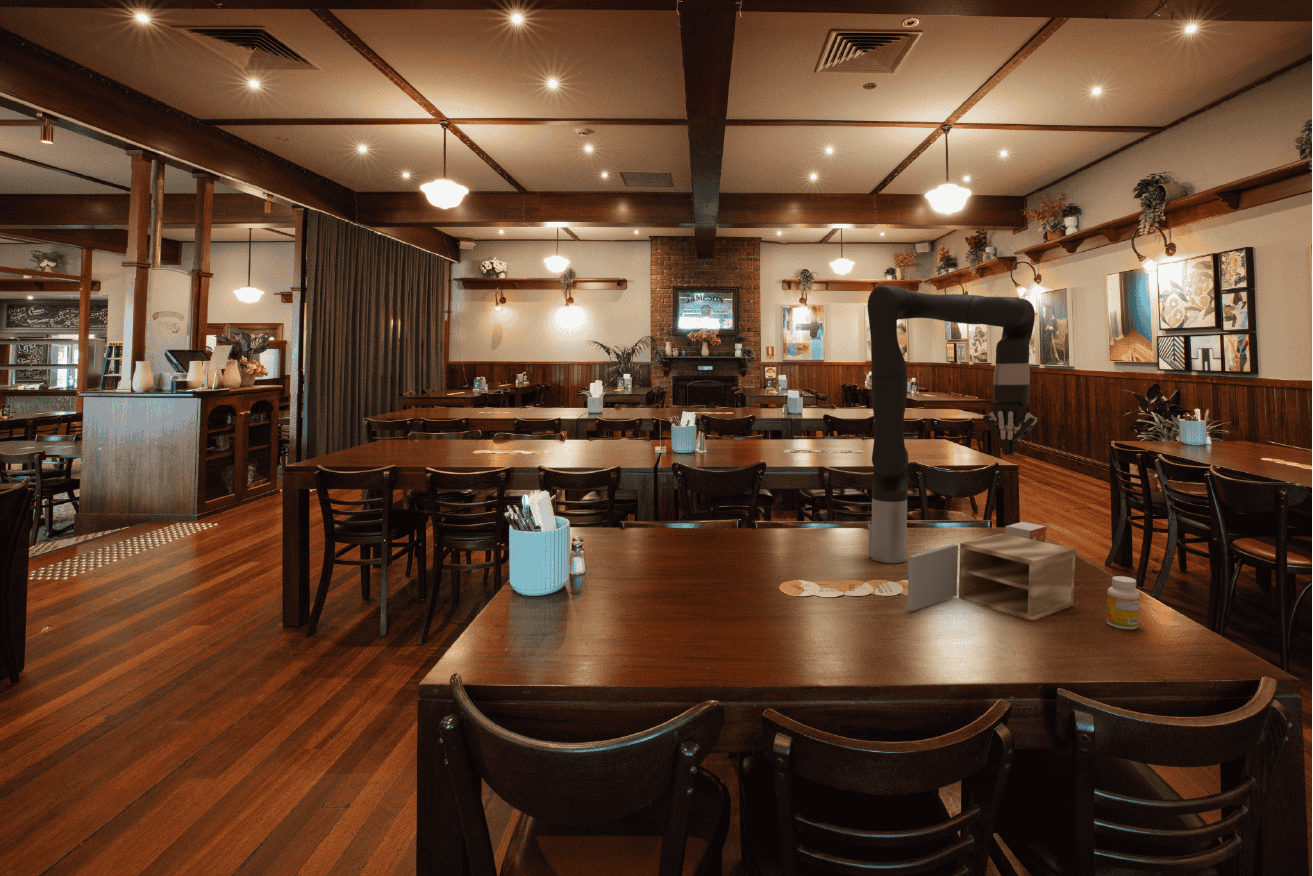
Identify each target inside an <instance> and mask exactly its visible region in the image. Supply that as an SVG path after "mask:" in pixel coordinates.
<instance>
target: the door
mask: <svg viewBox="0 0 1313 876" xmlns="http://www.w3.org/2000/svg"><path fill="white" fill-rule="evenodd" d="M958 563H959V545H958V544H954V543H953V544H949V545H945V546H941V547H938V548H934V549H930V550H927V551H922V552H919V553H916V554H912V555H908V567H907V569H908V571H907V573H908V574H907V576H906V580H907V611H912V612H913V611H915V610H919V609H923V608H925V607H928V606H930V605H933V604H936V603H939V602H942V601H946V600H949V599H951V598H954V597H957V596H958V595H957V594H958V567H959V566H958V565H959V564H958Z"/></svg>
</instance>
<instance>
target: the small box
mask: <svg viewBox="0 0 1313 876" xmlns="http://www.w3.org/2000/svg"><path fill="white" fill-rule="evenodd" d="M1004 528H1005V530H1004V534H1007V535H1012V536H1017V537H1021V538H1026V539H1031V540H1036V541H1041V542H1045V543H1046V537H1047V532H1046V531H1047V526H1046V525H1040V524H1036V523H1030V522H1025V521H1020V522H1017V523H1012V524H1009V525H1006V526H1005V527H1004Z"/></svg>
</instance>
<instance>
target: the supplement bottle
mask: <svg viewBox="0 0 1313 876" xmlns="http://www.w3.org/2000/svg"><path fill="white" fill-rule="evenodd" d="M1111 585H1112V586H1110V587H1108V589H1107V592H1106V614H1105V622H1106V623H1107V624H1108V625H1109V626H1110V627H1113V628H1116V629H1120V630H1135V629H1137V628H1138V627H1139V617H1140V616H1139V613H1140V598H1141V597H1140V596H1141V595H1140V592H1139V591H1138V590H1136V587H1137V580H1136V579H1134V578H1133V577H1128V576H1123V575H1122V576H1121V575H1118V576H1117V575H1116V576H1112V579H1111Z"/></svg>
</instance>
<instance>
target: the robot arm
mask: <svg viewBox="0 0 1313 876" xmlns="http://www.w3.org/2000/svg"><path fill="white" fill-rule="evenodd" d="M867 315H868V316H867V317H868V323H869V325H868V326H869V331H870V354H871V355H870V358H871V359H870V361H871V369H870V370H871V375H870V377H871V379H870V380H871V382H870V385H871V386H870V387H871V388H870V389H871V402H872V405H871V406H872V413H873V418H874V419H873V421H874V432H873V433H874V436H873V444H872V445H873V446H872V454H871V463H872V467H873V471H872V472H873V473H872V475H873V477H872V487H871V488H872V489H871V523H869V524H868V547H867V548H868V551H867V552H868V553H867V554H868V556H869V558H870V559H872V560H873V561H876V562H879V563H884V564H902V563H905V562H906V561H907V536H908V535H907V534H908V533H907V530H908V525H907V524H908V490H909V489H908V487H909V453H908V452H909V451H908V450H907V449H908V448H906V446H905V435H904V434H905V433H904V421H905V415H906V414H905V413H906V408H907V400H908V399H907V397H908V369H907V364H906V360H905V357H904V355H903V353H902V349H901V347H900V344H899V340H898V324H897V323H898V320H908V319H932V320H938V321H943V322H948V323H955V324H956V323H957V324H964V325H965V324H966V325H985V326H990V327H991V326H993V327H1000V328H1002V335H1001V339H1000V340H998V341H997V343H996V347H995V366H994V367H995V368H994V371H993V393H992V395H993V396H992V397H993V398H992V399H993V400H992V402H993V407H991V412H989V413H988V414H986V415H983V417H982V419H983V421H984V422H985V424H986V425H987V427H988V428H989V429H990V431H991V433H992V434H993V436H995V437H999V438H1000V439H1001V453H1003V455H1004V456H1014V455H1015V454H1016V453H1017V449H1018V448H1017V447H1018V446H1017V445H1018V440H1019V439H1021V438H1026V436H1027V435H1028V434H1029V433H1030V431H1031V430H1033V428H1034V427H1035V426H1036V424H1037V423H1038V422H1039V420H1040V418H1039V417H1038V416H1034V415H1033V414H1031V413H1030V412H1031V411H1030V408H1029V400H1030V379H1031V377H1030V376H1031V374H1030V343H1031V340H1032V334H1033V330H1034V326H1035V320H1036V319H1035V317H1036V313H1035V308H1034V305H1033V303H1032V302H1031V301H1029V300H1028V299H1026V298H1020V297H1013V296H985V295H976V294H964V293H963V294H961V293H959V294H958V293H955V294H954V293H952V294H951V293H948V294H947V293H945V294H934V293H933V294H932V293H931V294H930V293H924V292H918V291H914V290H909V289H906V288H903V287H901V286H898V285H897V286H896V285H891V284H890V285H889V284H881V285H878V286H876V287H874V288H873V290H872V291H871V292H870V294H869V296H868V300H867ZM1023 421H1024V423H1023ZM1022 423H1023V424H1022Z"/></svg>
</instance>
